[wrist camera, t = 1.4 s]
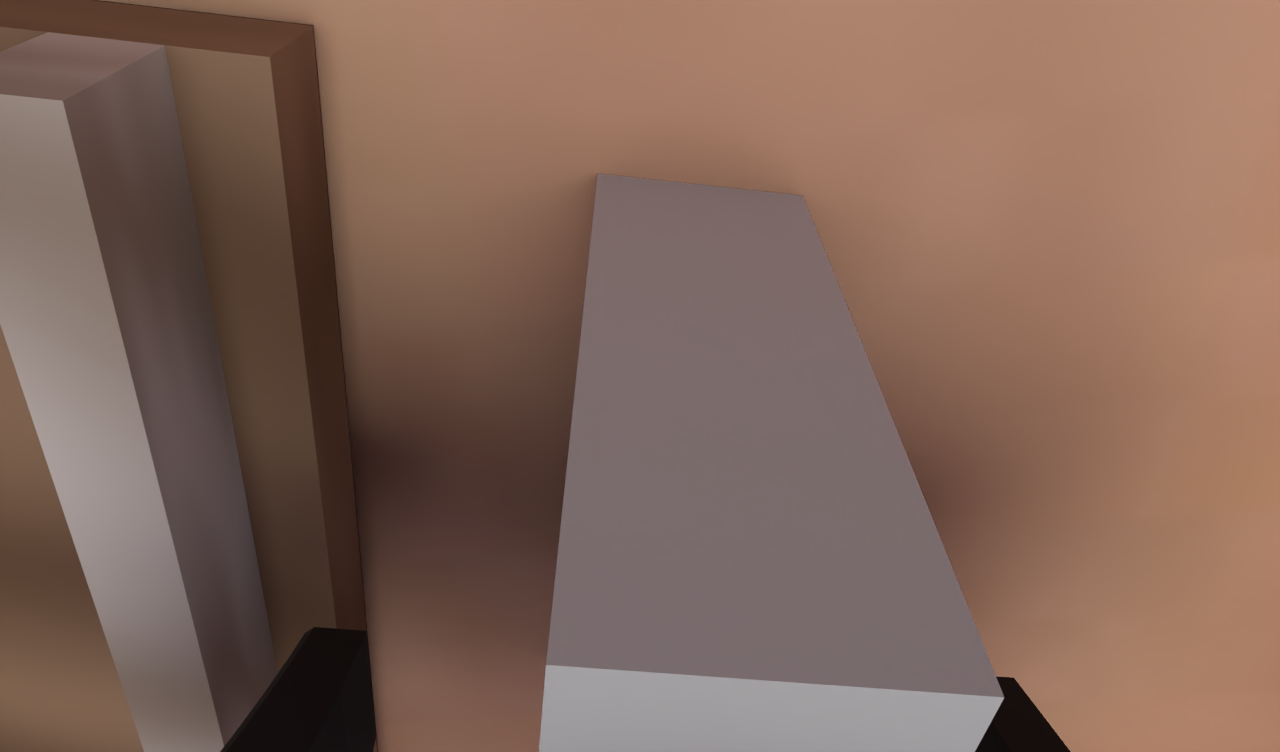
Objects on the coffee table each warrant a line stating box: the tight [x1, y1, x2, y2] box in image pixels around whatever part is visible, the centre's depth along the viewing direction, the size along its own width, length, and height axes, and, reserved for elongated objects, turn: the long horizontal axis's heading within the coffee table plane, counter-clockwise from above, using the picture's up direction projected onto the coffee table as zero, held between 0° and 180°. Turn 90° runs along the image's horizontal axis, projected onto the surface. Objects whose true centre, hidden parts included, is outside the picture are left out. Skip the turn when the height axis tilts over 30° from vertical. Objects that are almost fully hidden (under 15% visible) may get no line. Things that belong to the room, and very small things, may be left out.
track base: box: [0, 0, 377, 752], centre depth 14 cm, size 18×9×4 cm, turn 174°
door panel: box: [539, 174, 1004, 752], centre depth 11 cm, size 10×3×8 cm, turn 174°
